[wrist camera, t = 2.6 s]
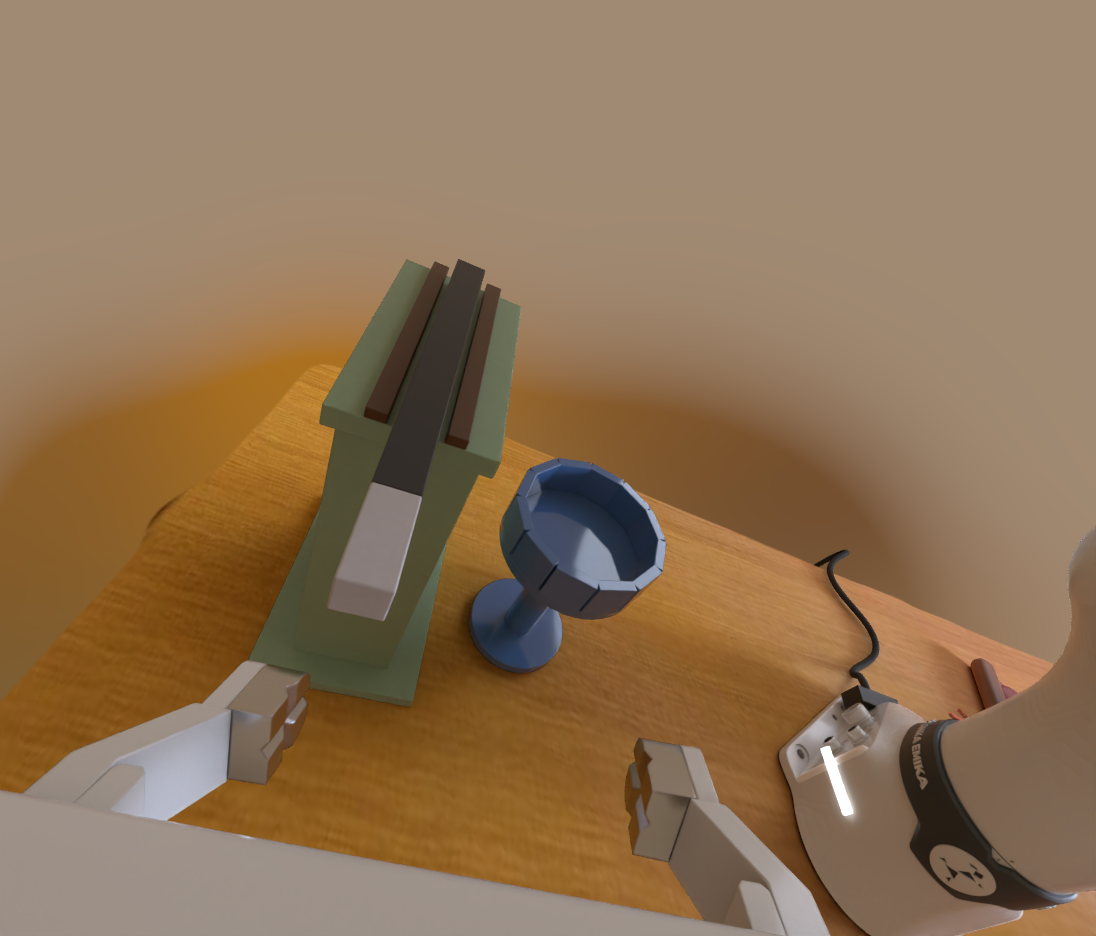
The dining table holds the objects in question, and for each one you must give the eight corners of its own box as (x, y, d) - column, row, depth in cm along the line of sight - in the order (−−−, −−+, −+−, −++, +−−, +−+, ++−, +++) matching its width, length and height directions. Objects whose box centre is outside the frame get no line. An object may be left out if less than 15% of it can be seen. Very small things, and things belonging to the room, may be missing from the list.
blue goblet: (520, 553, 55) (590, 444, 44) (595, 645, 51) (692, 549, 40) (426, 604, 46) (485, 484, 36) (507, 719, 42) (600, 621, 32)
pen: (383, 622, 16) (395, 593, 15) (325, 609, 16) (333, 577, 15) (476, 294, 34) (485, 270, 33) (450, 284, 34) (458, 258, 32)
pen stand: (409, 707, 40) (545, 482, 23) (243, 675, 37) (262, 390, 20) (447, 528, 53) (552, 303, 36) (327, 494, 50) (381, 231, 33)
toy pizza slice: (979, 653, 73) (1103, 731, 73) (965, 660, 75) (1086, 736, 74) (1027, 783, 59) (1182, 881, 58) (1008, 789, 60) (1159, 884, 60)
